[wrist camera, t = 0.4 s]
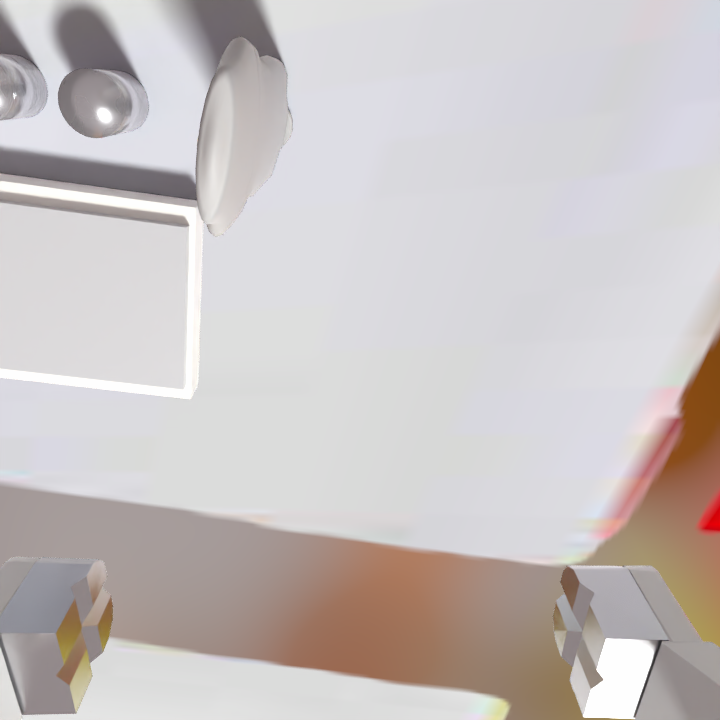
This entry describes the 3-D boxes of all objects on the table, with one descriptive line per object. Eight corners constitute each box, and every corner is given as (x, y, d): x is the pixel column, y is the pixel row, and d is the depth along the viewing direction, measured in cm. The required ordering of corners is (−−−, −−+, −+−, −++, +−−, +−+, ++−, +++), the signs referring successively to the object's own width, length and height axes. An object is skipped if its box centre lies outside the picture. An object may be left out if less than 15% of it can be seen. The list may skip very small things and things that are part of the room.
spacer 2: (89, 66, 47) (55, 63, 42) (148, 75, 48) (122, 73, 42) (92, 127, 49) (60, 133, 44) (148, 136, 50) (124, 142, 44)
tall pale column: (252, 47, 47) (180, 18, 27) (304, 59, 47) (271, 41, 27) (234, 183, 51) (161, 245, 31) (282, 193, 52) (239, 262, 32)
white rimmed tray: (-66, 164, 50) (-98, 170, 47) (204, 201, 52) (193, 210, 48) (-37, 357, 58) (-63, 376, 54) (198, 384, 59) (188, 404, 56)
